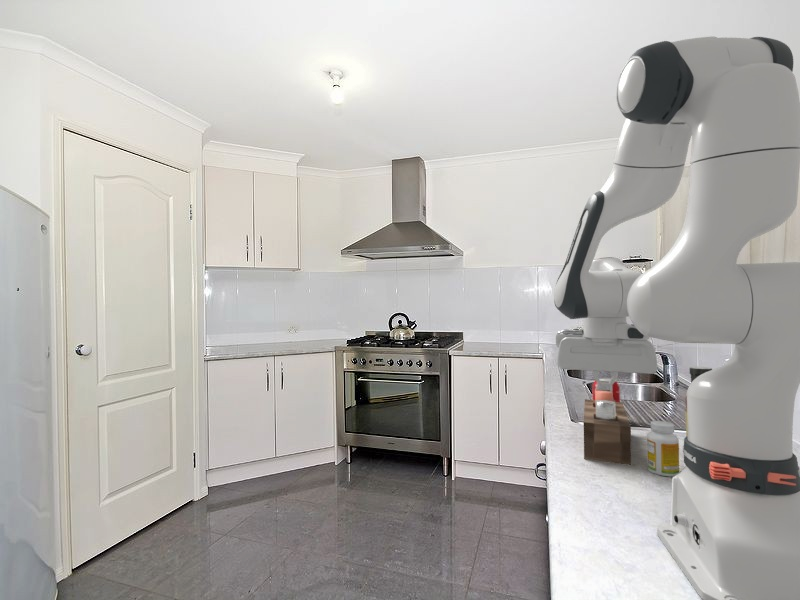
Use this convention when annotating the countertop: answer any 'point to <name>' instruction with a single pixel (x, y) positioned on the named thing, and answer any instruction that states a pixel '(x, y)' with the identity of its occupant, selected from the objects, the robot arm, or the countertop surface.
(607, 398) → the pink oval piece
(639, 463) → the countertop surface
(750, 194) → the robot arm
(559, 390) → the countertop surface
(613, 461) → the plug block
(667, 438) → the supplement bottle
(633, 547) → the countertop surface
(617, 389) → the soda can
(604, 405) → the steel plug
